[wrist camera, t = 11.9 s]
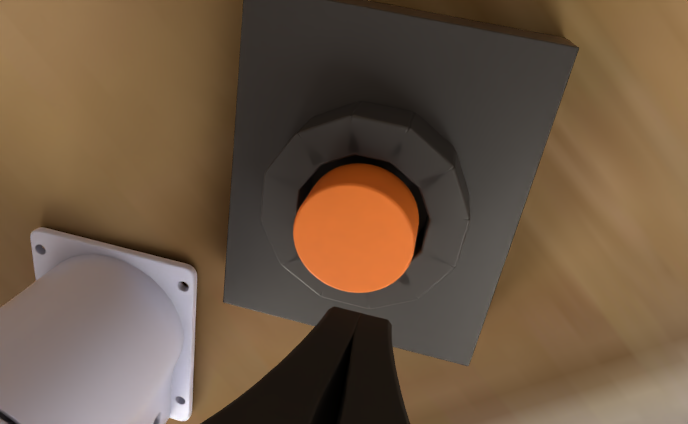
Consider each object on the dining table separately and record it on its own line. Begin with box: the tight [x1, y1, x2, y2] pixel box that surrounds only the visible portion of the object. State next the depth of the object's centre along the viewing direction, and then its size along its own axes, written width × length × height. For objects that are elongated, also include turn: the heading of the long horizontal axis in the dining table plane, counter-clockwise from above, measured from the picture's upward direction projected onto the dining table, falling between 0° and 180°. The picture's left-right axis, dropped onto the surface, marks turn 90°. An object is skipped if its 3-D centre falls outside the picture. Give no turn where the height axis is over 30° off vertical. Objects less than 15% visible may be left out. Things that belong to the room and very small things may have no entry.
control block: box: [223, 0, 579, 366], centre depth 18 cm, size 12×10×4 cm
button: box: [293, 163, 419, 293], centre depth 16 cm, size 4×4×2 cm
